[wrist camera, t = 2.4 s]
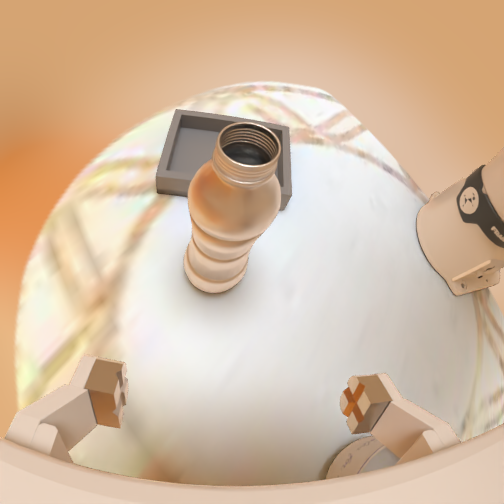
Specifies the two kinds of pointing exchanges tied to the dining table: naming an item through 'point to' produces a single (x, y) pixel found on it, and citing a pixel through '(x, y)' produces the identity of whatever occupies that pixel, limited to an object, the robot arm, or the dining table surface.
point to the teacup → (362, 458)
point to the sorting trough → (208, 151)
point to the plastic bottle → (231, 205)
